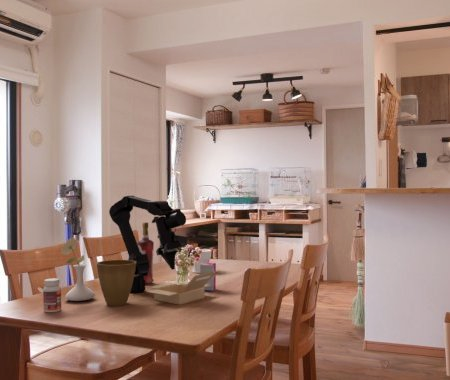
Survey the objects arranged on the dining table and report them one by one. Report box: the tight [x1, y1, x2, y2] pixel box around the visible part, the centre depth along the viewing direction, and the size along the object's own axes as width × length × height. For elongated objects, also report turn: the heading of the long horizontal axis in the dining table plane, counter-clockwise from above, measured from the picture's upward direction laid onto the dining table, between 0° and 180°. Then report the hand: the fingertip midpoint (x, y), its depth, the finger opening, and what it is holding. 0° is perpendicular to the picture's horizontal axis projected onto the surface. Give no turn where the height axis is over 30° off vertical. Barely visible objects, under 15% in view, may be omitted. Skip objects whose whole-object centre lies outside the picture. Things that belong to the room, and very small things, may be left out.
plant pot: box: [96, 259, 136, 307], centre depth 196 cm, size 15×15×16 cm
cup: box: [191, 248, 212, 274], centre depth 266 cm, size 12×12×11 cm
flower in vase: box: [60, 237, 96, 302], centre depth 203 cm, size 13×11×25 cm
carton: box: [146, 281, 211, 306], centre depth 204 cm, size 19×24×4 cm
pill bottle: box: [42, 277, 62, 313], centre depth 186 cm, size 6×6×11 cm
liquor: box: [137, 221, 155, 285], centre depth 236 cm, size 7×7×28 cm
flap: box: [182, 270, 217, 292], centre depth 196 cm, size 1×12×10 cm
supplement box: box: [199, 262, 217, 292], centre depth 219 cm, size 6×6×12 cm
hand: (173, 269), depth 205 cm, fingers closed
